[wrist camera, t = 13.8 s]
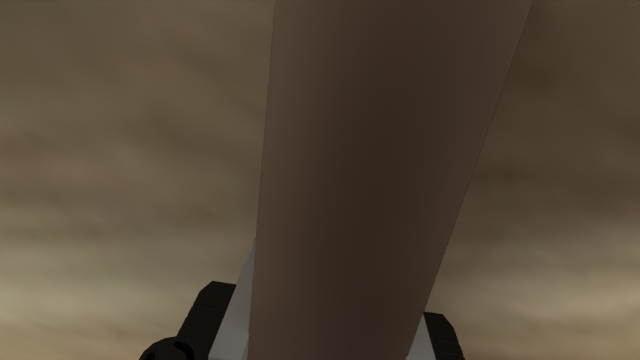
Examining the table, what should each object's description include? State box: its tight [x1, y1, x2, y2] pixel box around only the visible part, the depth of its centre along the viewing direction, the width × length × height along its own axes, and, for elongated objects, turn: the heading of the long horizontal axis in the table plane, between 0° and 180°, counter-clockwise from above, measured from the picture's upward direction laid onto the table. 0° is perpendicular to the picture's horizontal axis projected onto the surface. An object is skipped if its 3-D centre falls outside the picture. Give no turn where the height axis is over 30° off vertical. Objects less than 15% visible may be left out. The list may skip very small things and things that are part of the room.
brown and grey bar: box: [247, 0, 534, 360], centre depth 12 cm, size 4×28×6 cm, turn 172°
